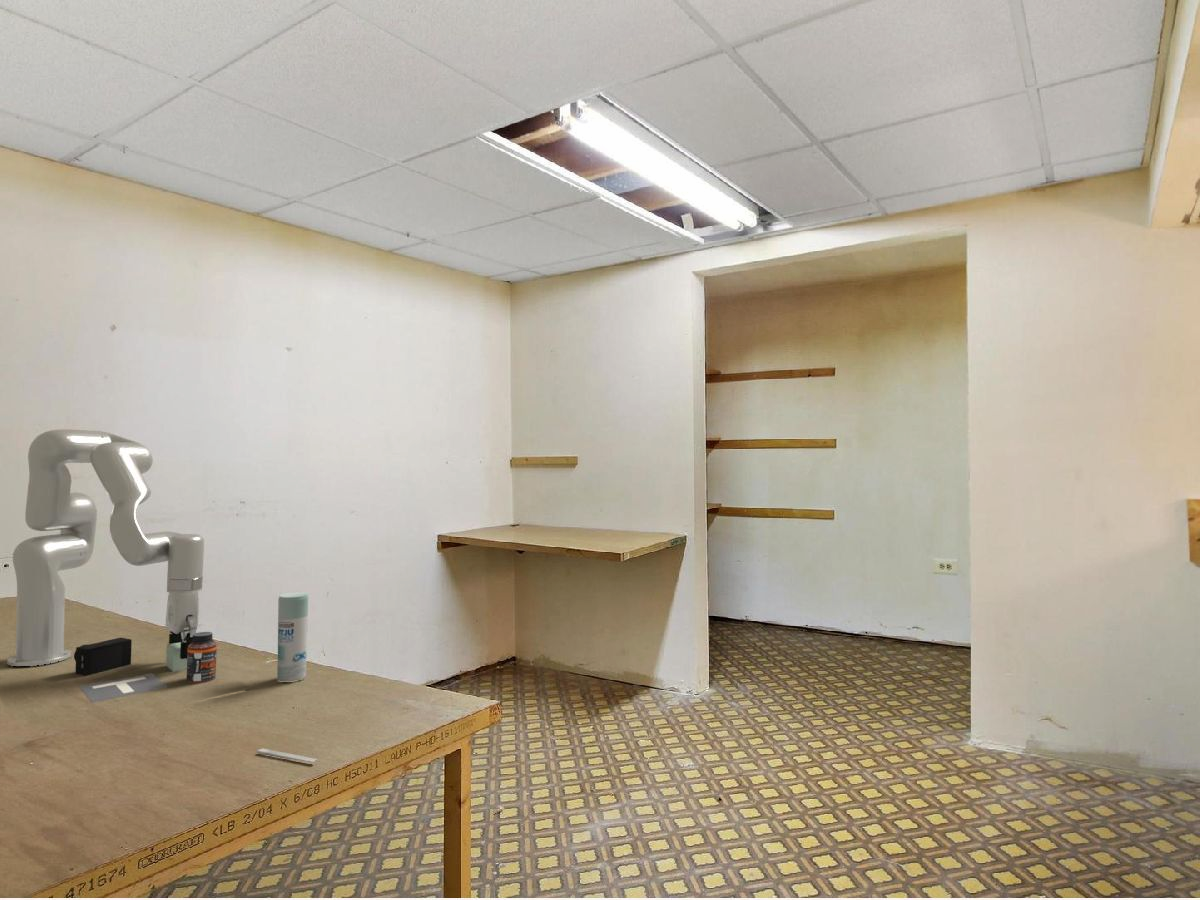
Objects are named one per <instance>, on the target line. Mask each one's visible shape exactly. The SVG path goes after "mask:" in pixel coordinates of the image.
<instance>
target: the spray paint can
mask: <svg viewBox="0 0 1200 900" xmlns="http://www.w3.org/2000/svg"><path fill="white" fill-rule="evenodd" d="M277 601H278V608H277V609H278V610H277V612H278V613H277V614H278V615H277V616H278V617H277V668H276V669H277V670H276V671H277V672H276V673H277V681H278V680H279V681H294V680H300V679H302V678H304V677H305V676H306V677H307V656H308V655H307V654H308V653H307V651H308V649H307V648H308V620H309V616H308V615H309V595H308V593H307V592H302V591H300V592H297V591H296V592H294V591H293V592H286V593H282V594H280V595H279V596H278V600H277Z"/></svg>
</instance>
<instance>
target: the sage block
mask: <svg viewBox="0 0 1200 900" xmlns="http://www.w3.org/2000/svg"><path fill="white" fill-rule="evenodd" d="M180 647H181V642H179V643H173V644H169V643H168V644H166V653H165V654H166V658H165V660H166V661H165V665H166V667H167V668H168V669H169V670H170V671H172V672H178V671H182V670H187V658H186V659H181V658H180Z"/></svg>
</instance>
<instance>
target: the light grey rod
mask: <svg viewBox="0 0 1200 900" xmlns="http://www.w3.org/2000/svg"><path fill="white" fill-rule="evenodd" d="M257 753H258V754H264V755H270V756H276V757H280V758H287V759H294V760H302V761H308V762H315V761H316V760H318V761H319V759H318V758H312V757H309V756H303V755H297V754H293V753H288V752H284V751H283V752H282V751H278V750H273V749H267V748H260V749H258V750H256V754H257Z"/></svg>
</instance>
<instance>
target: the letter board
mask: <svg viewBox="0 0 1200 900" xmlns="http://www.w3.org/2000/svg"><path fill="white" fill-rule="evenodd" d="M78 687H79V689H80V690H81V691H82V692H83V694H84V695H85V696H86V697H87V698H88V700H89V701H90V702H91V703H97V702H102V701H107V700H112V699H119V698H122V697H126V696H131V695H137V694H142V693H147V692H151V691H157V690H162V689H167V688H169V686H167V685H166V684H165V683H164V682H163V681H161V680H160V679H159V678H158V677H157V676H156V675H154V673H152V672H149V673H145V674H141V675H134V676H129V677H123V678H118V679H111V680H107V681H103V682H96V683H91V684H85V685H80V686H78Z"/></svg>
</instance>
